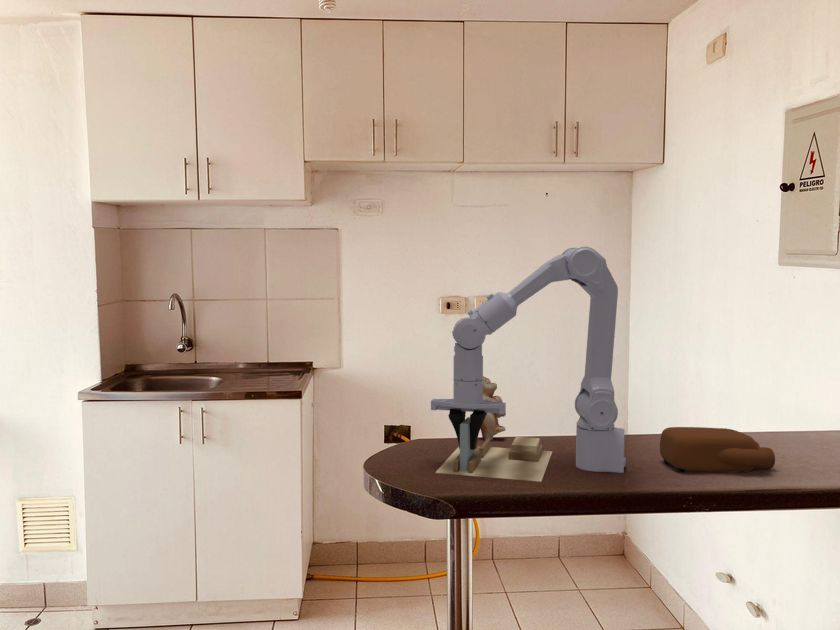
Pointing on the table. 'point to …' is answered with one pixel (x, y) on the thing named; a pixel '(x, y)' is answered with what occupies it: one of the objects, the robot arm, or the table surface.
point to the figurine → (491, 419)
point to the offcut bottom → (525, 455)
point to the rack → (496, 464)
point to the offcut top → (525, 445)
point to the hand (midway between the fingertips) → (467, 448)
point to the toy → (713, 450)
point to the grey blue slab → (465, 444)
